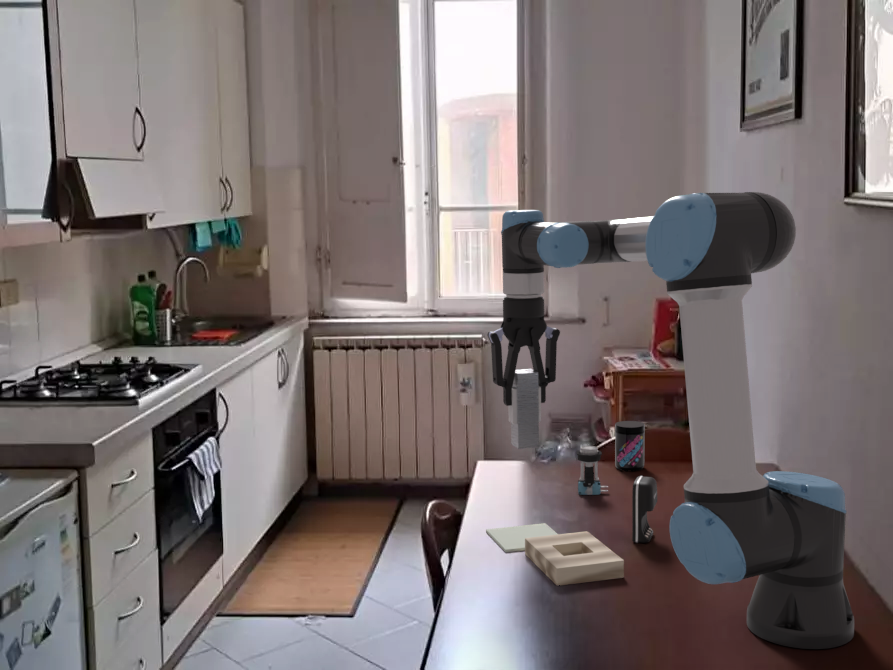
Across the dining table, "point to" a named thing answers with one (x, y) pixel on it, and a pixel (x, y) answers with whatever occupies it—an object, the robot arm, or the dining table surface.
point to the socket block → (574, 558)
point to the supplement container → (629, 445)
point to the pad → (518, 535)
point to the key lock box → (643, 507)
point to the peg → (526, 410)
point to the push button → (589, 471)
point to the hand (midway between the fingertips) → (524, 421)
